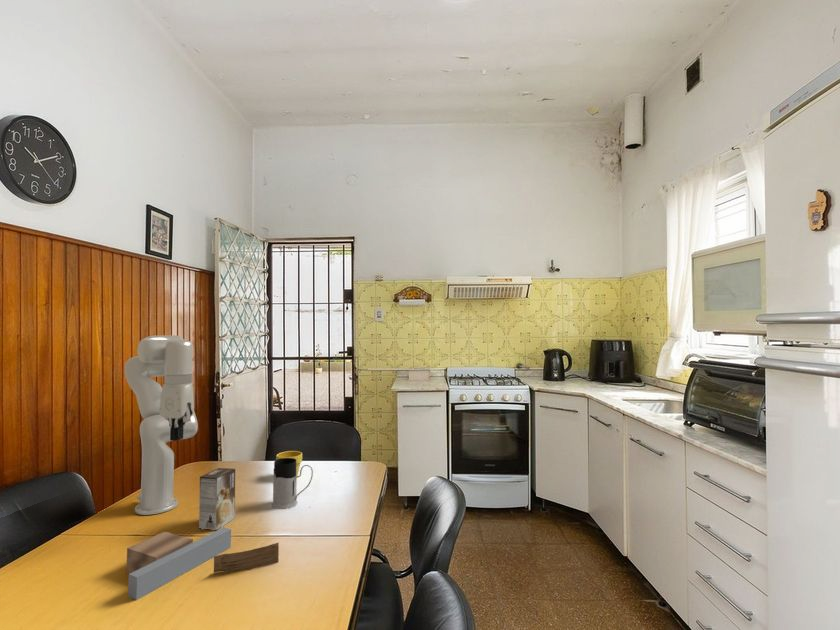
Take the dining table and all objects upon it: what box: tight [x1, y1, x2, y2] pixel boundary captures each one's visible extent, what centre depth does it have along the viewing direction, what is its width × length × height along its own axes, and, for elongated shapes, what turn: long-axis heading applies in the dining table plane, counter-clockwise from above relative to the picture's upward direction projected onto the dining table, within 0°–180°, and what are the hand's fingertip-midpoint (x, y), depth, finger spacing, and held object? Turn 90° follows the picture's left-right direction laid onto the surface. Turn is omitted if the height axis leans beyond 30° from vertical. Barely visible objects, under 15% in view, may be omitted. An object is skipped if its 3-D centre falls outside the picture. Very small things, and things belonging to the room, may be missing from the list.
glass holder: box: [271, 458, 314, 510], centre depth 150 cm, size 9×14×15 cm, turn 88°
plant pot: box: [275, 450, 303, 476], centre depth 177 cm, size 10×10×10 cm
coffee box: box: [198, 467, 236, 531], centre depth 134 cm, size 9×6×16 cm
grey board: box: [127, 526, 232, 601], centre depth 108 cm, size 3×26×5 cm, turn 156°
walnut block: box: [125, 531, 194, 574], centre depth 110 cm, size 11×10×6 cm
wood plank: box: [213, 542, 280, 573], centre depth 109 cm, size 15×2×5 cm, turn 115°
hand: (176, 439), depth 132 cm, fingers closed
